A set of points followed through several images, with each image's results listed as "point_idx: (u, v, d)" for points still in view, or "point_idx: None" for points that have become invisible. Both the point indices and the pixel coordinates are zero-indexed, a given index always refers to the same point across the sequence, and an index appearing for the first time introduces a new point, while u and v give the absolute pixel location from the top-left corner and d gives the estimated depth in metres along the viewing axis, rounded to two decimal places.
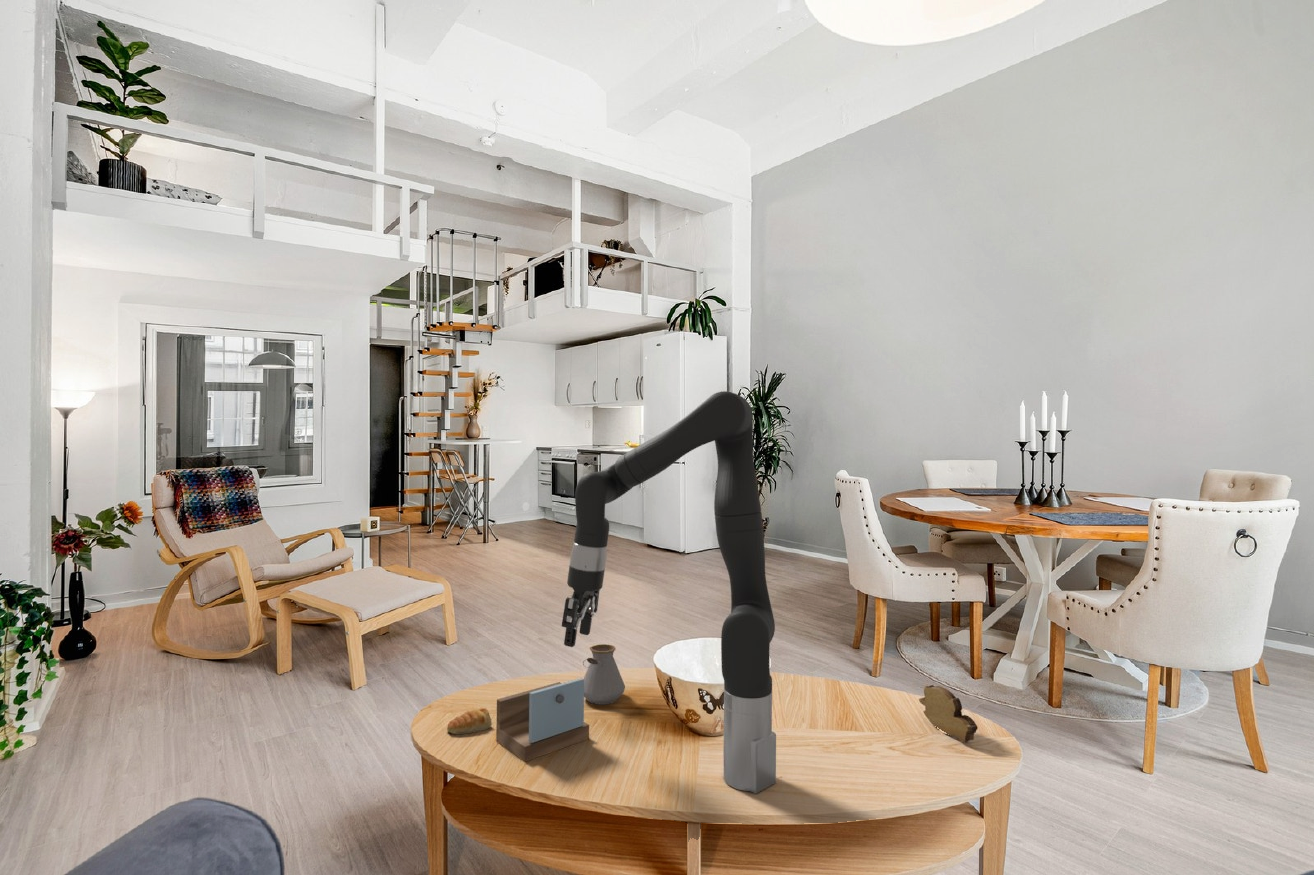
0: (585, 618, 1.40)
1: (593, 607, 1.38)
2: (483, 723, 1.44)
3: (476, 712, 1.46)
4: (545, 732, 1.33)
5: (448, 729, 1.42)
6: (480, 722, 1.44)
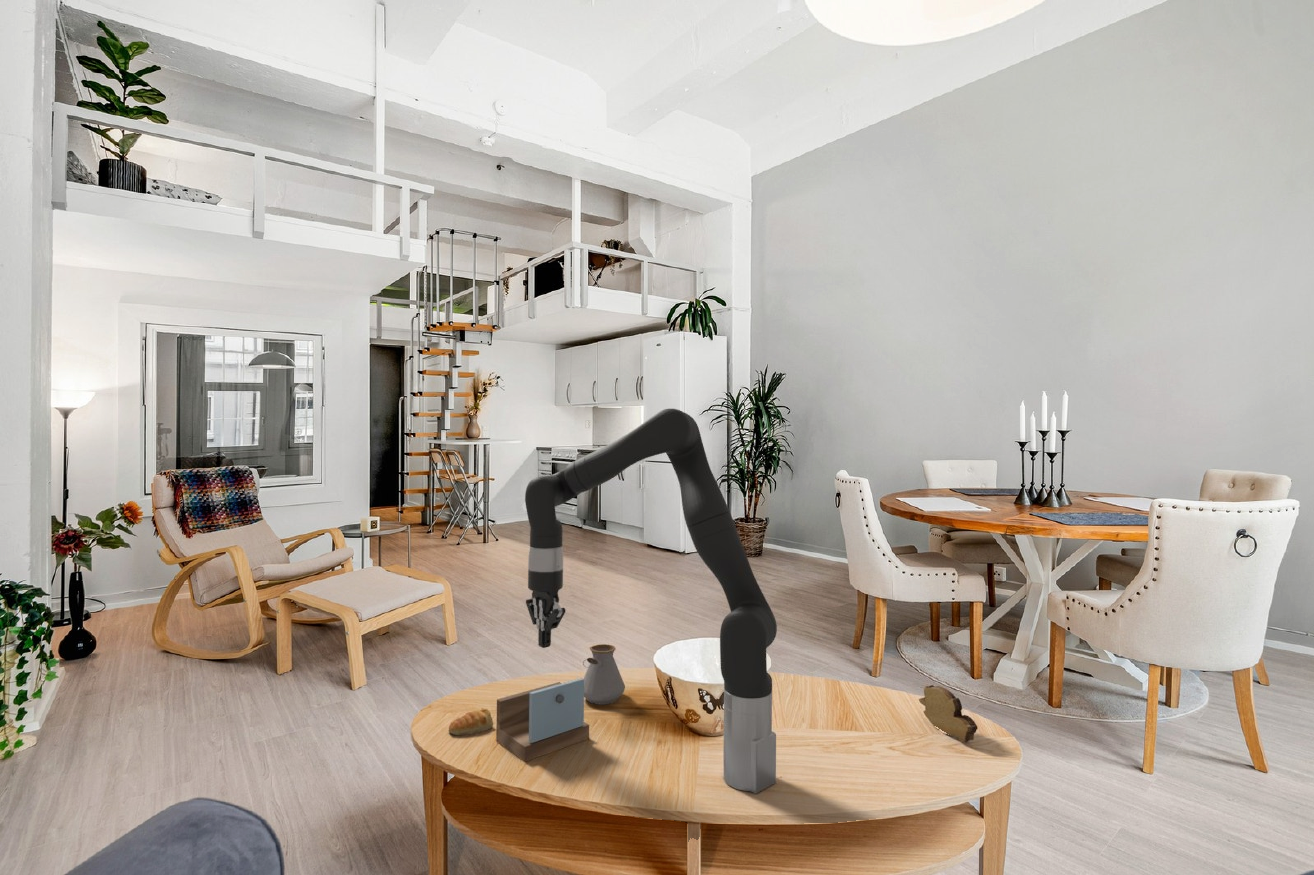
0: None
1: None
2: (484, 723, 1.44)
3: (478, 713, 1.45)
4: (545, 732, 1.33)
5: (450, 730, 1.42)
6: (482, 723, 1.43)
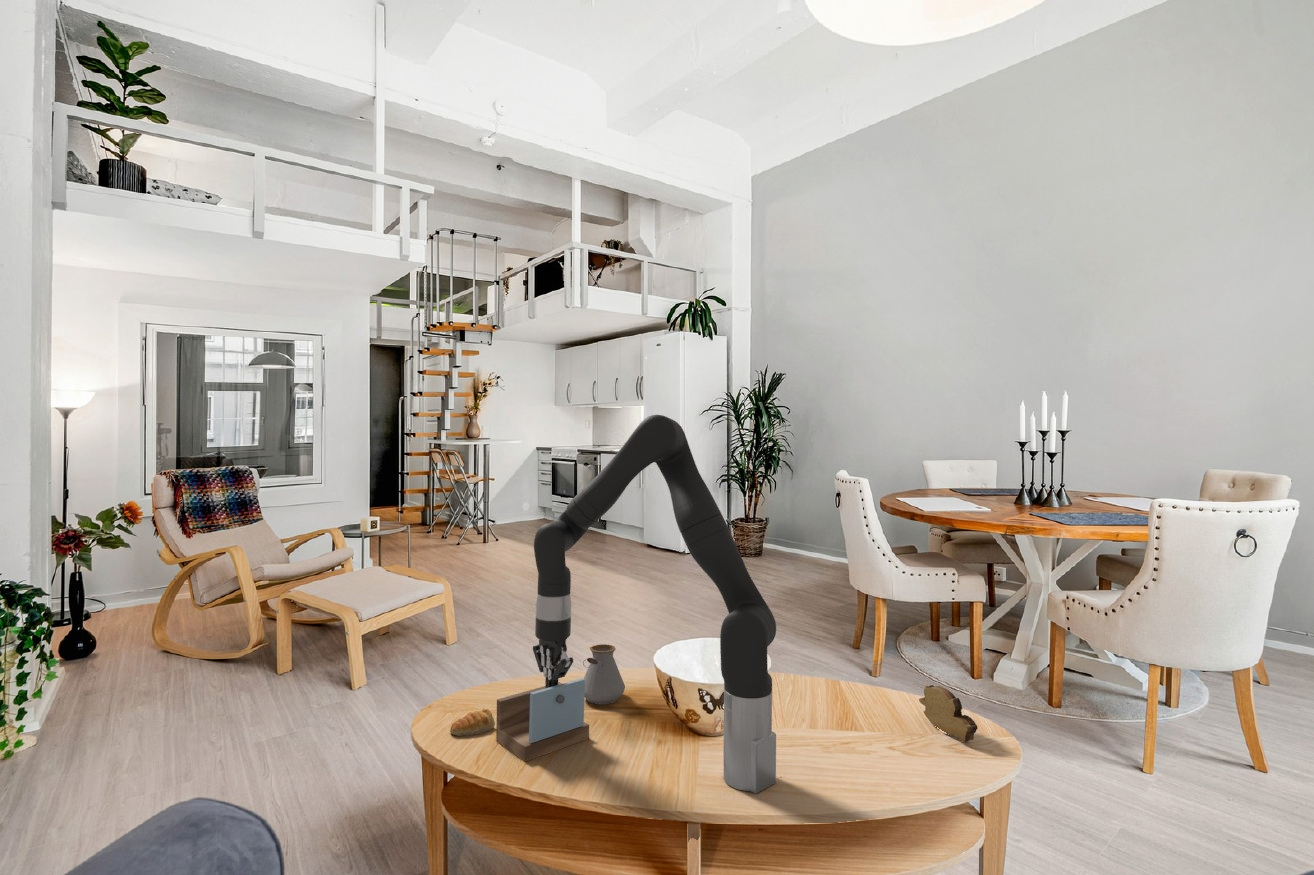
0: None
1: None
2: (486, 724, 1.43)
3: (479, 713, 1.45)
4: (545, 732, 1.33)
5: (451, 731, 1.41)
6: (483, 723, 1.43)
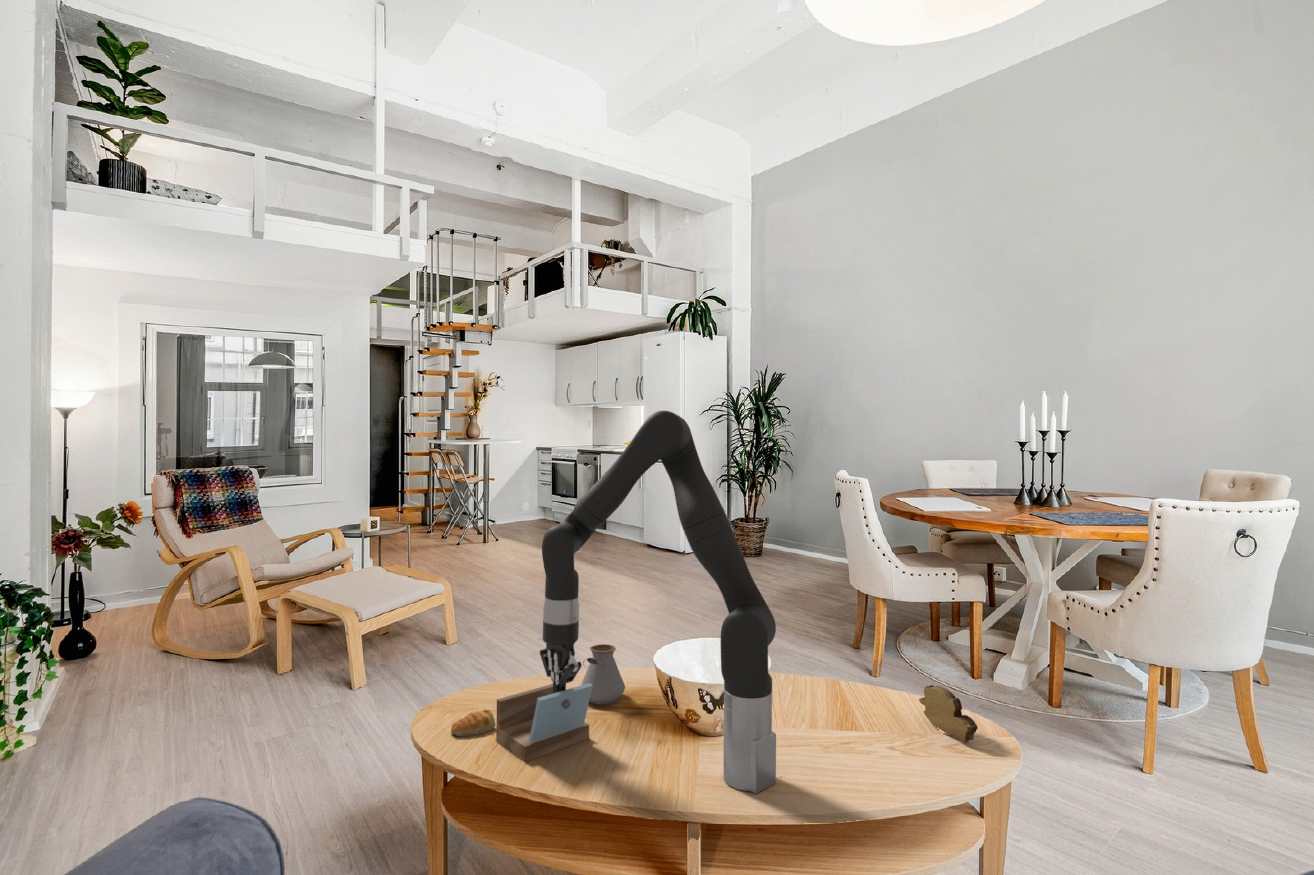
0: None
1: None
2: (487, 724, 1.43)
3: (480, 713, 1.45)
4: (546, 733, 1.33)
5: (452, 731, 1.41)
6: (484, 724, 1.43)
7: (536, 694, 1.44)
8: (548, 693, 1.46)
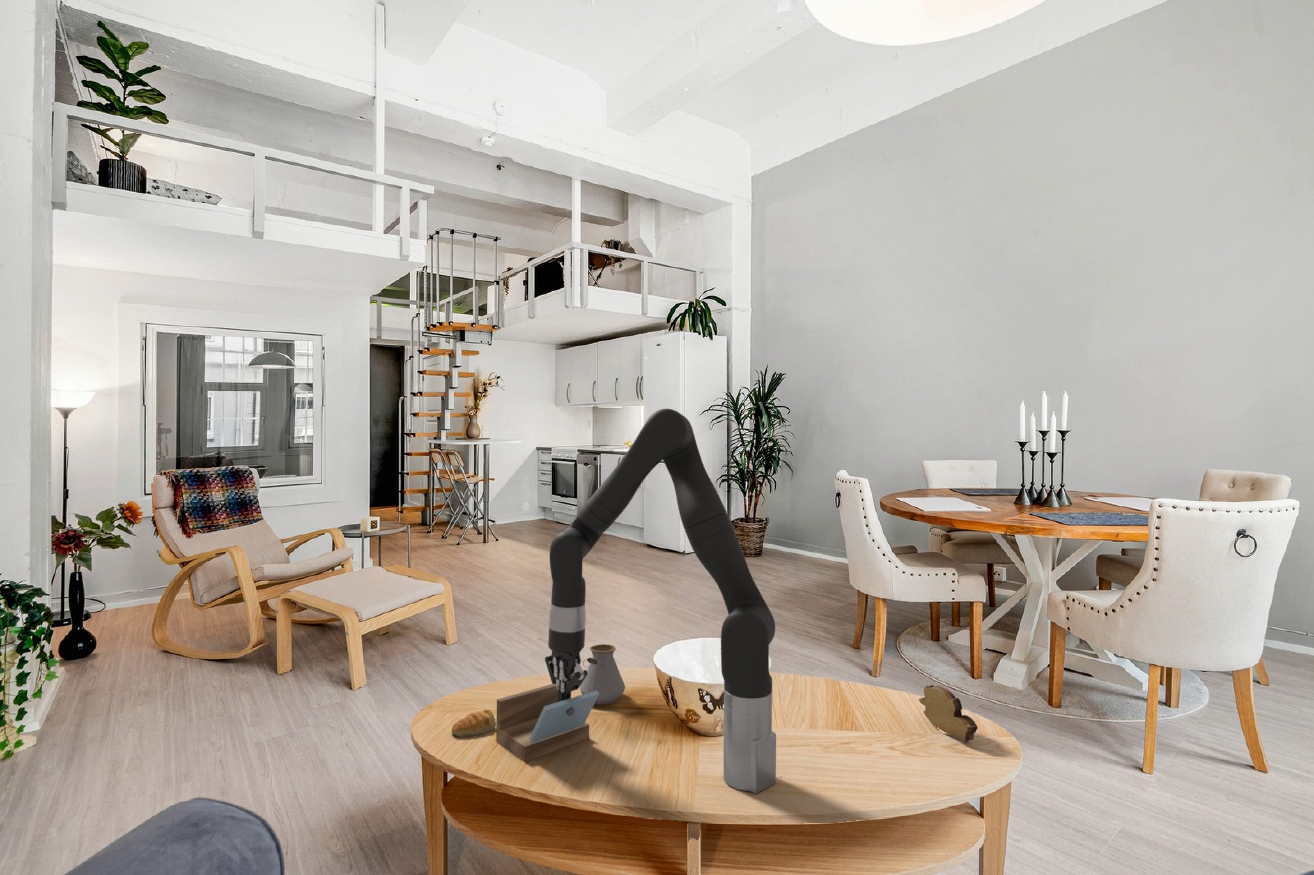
0: None
1: None
2: (488, 724, 1.43)
3: (480, 714, 1.45)
4: (547, 734, 1.33)
5: (453, 732, 1.41)
6: (485, 724, 1.43)
7: (536, 694, 1.44)
8: (548, 693, 1.46)
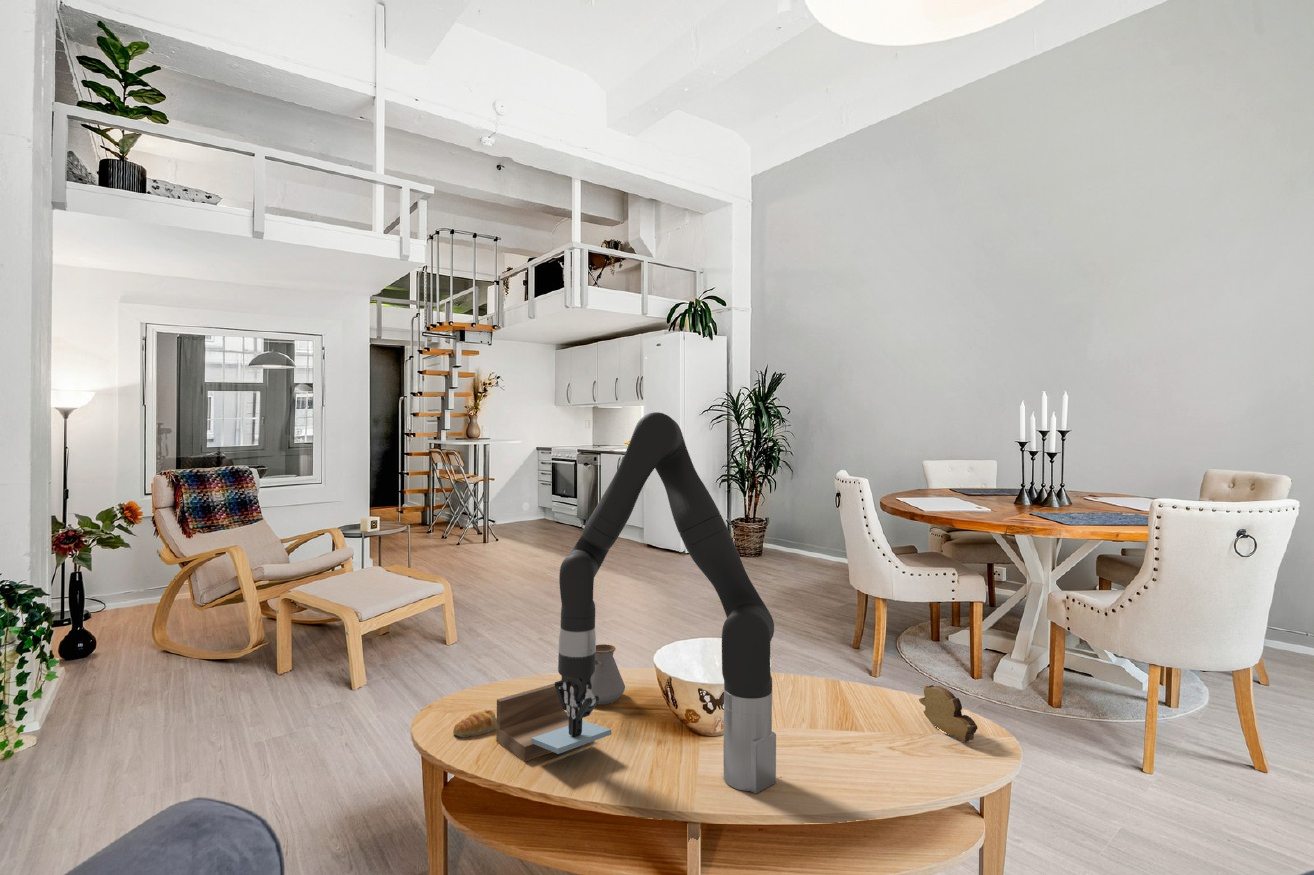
0: None
1: None
2: (489, 724, 1.43)
3: (482, 714, 1.45)
4: None
5: (455, 732, 1.41)
6: (487, 724, 1.43)
7: (536, 694, 1.44)
8: (548, 693, 1.46)
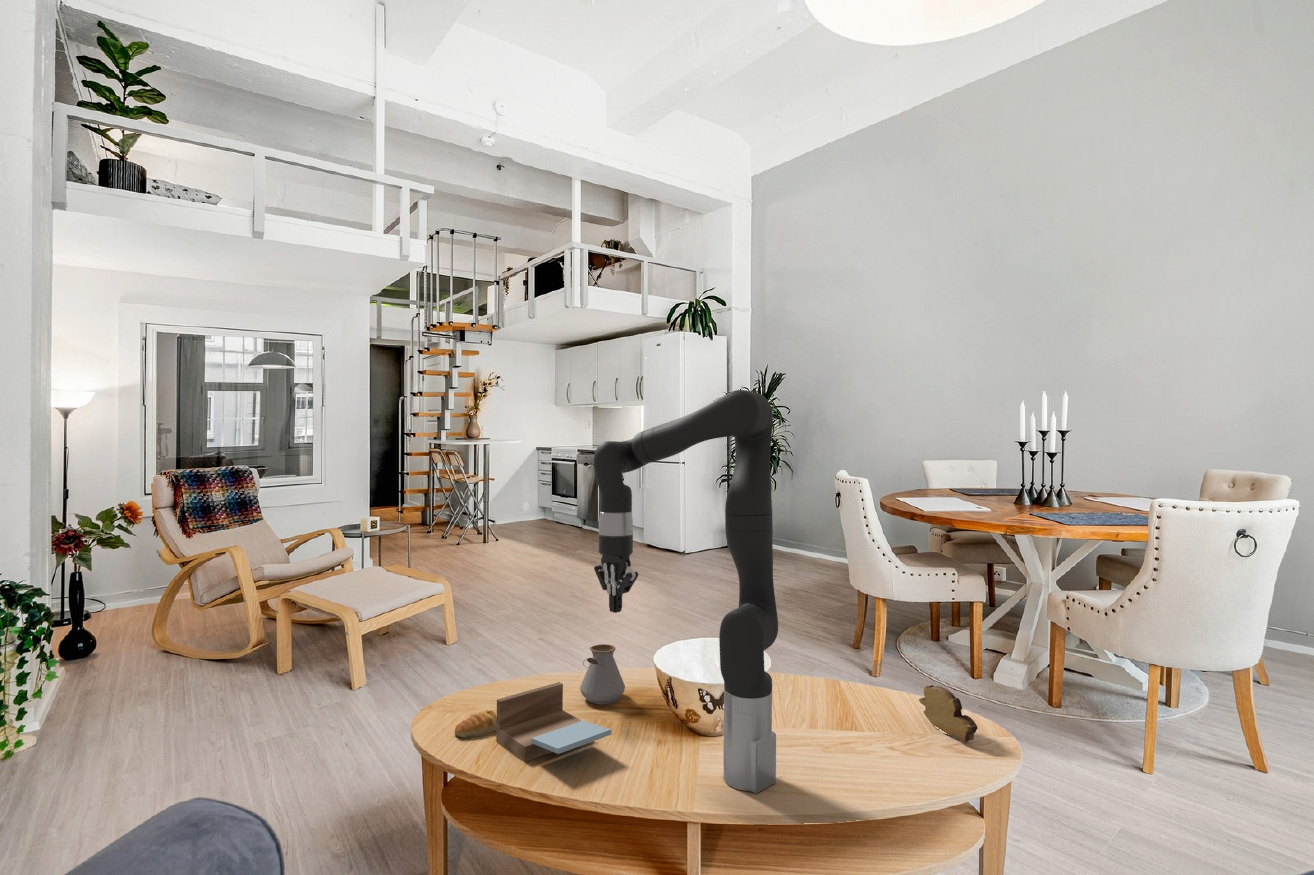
0: None
1: None
2: (491, 725, 1.43)
3: (483, 715, 1.44)
4: None
5: (456, 733, 1.40)
6: (488, 725, 1.43)
7: (536, 694, 1.44)
8: (548, 693, 1.46)
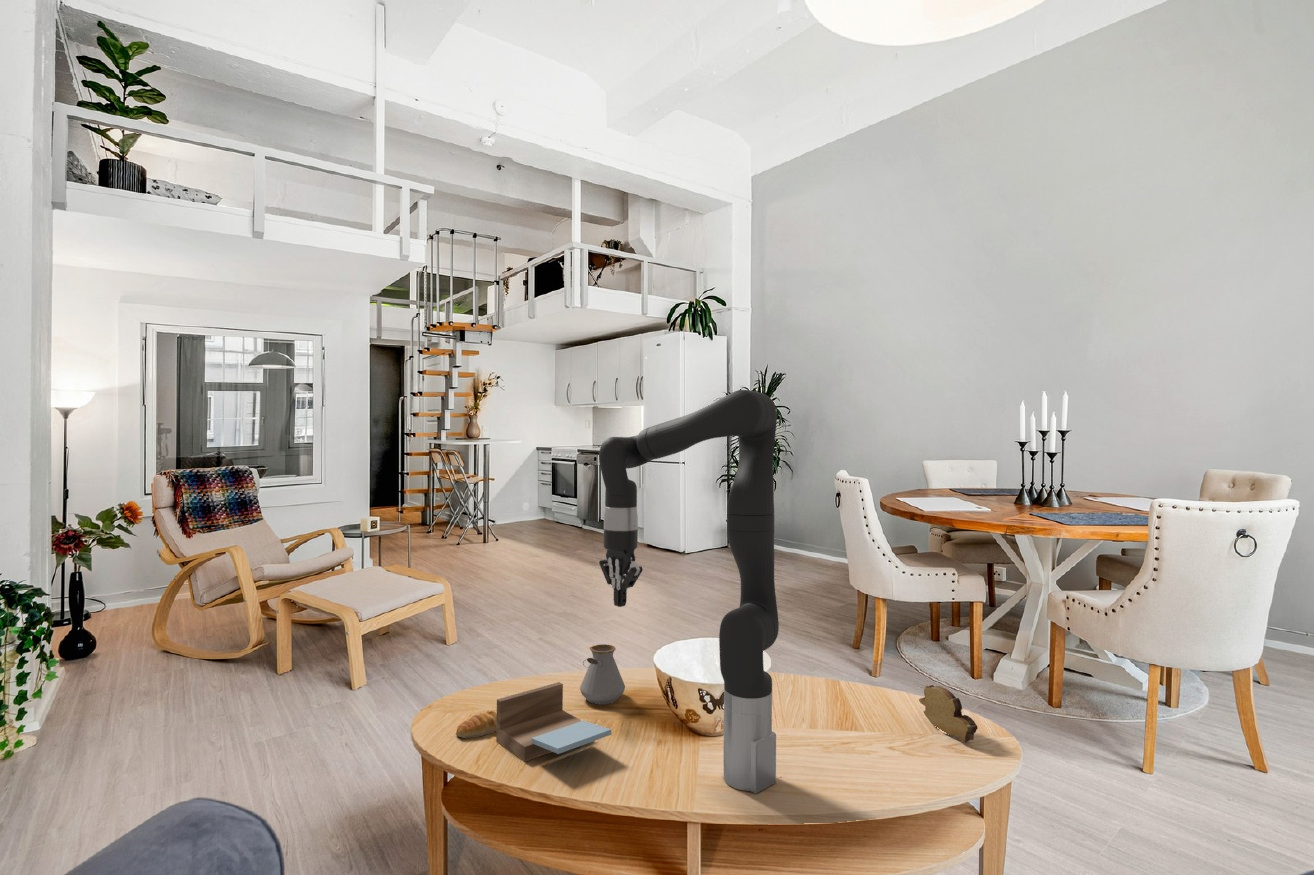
0: None
1: None
2: (492, 725, 1.43)
3: (485, 715, 1.44)
4: None
5: (458, 733, 1.40)
6: (490, 725, 1.42)
7: (536, 694, 1.44)
8: (548, 693, 1.46)
